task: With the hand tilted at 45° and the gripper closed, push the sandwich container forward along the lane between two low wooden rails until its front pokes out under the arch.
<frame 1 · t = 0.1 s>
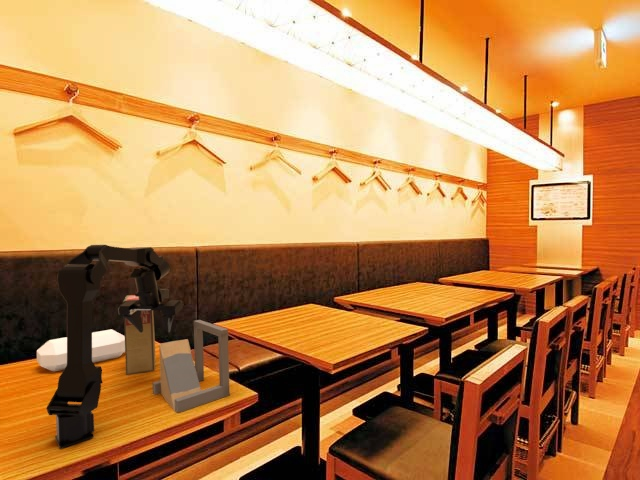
hand: (155, 332, 121), 15 cm above the table, tool pointing down, fingers open, 9 cm apart
grey frame stand: (190, 393, 110), on the table
sandwich container: (182, 399, 107), on the table, touching grey frame stand
food packaging: (141, 367, 133), on the table
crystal: (85, 362, 141), on the table
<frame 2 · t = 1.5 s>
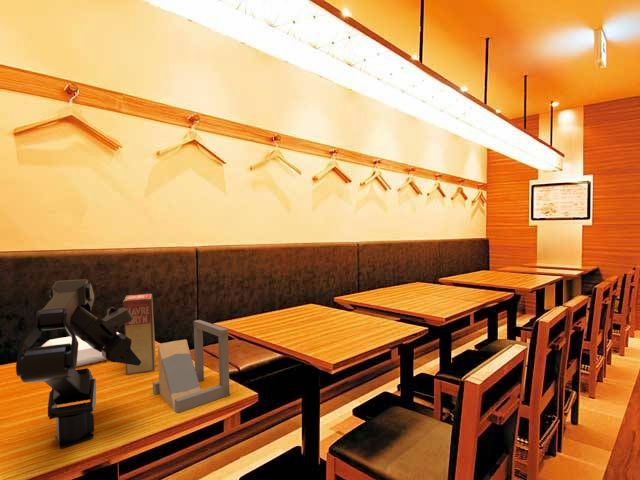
hand: (134, 360, 99), 14 cm above the table, tool tilted 45°, fingers open, 9 cm apart
nothing on the table moved.
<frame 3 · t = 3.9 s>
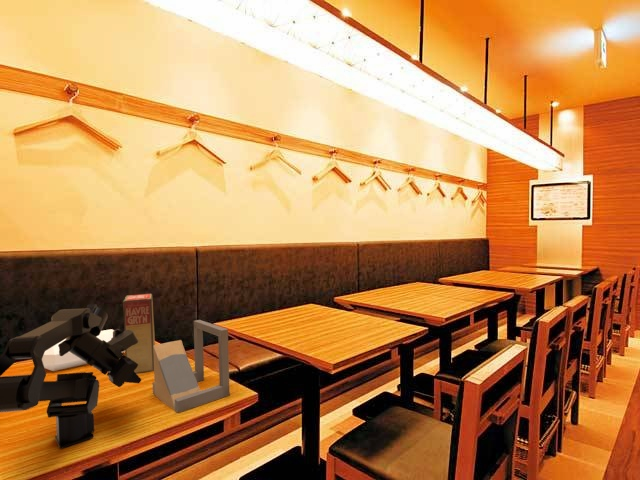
hand: (139, 381, 100), 8 cm above the table, tool tilted 45°, fingers closed
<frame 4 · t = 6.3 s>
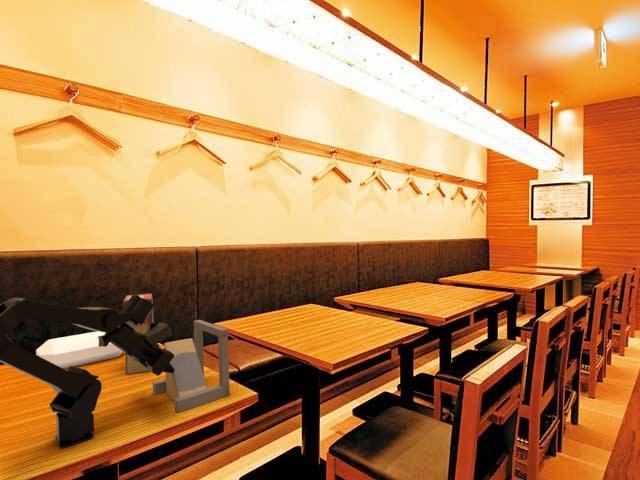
hand: (173, 371, 106), 8 cm above the table, tool tilted 45°, fingers closed
sandwich container: (188, 398, 108), on the table, touching gripper, grey frame stand
everything else where it was.
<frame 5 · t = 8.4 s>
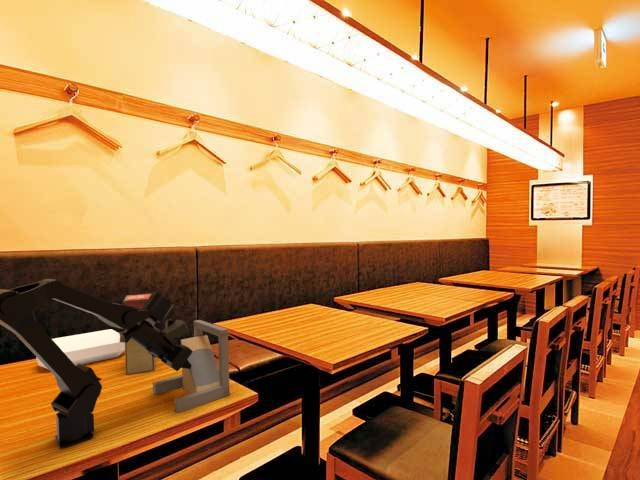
hand: (190, 367, 110), 8 cm above the table, tool tilted 45°, fingers closed
sandwich container: (204, 393, 112), on the table, touching gripper, grey frame stand
everything else where it was.
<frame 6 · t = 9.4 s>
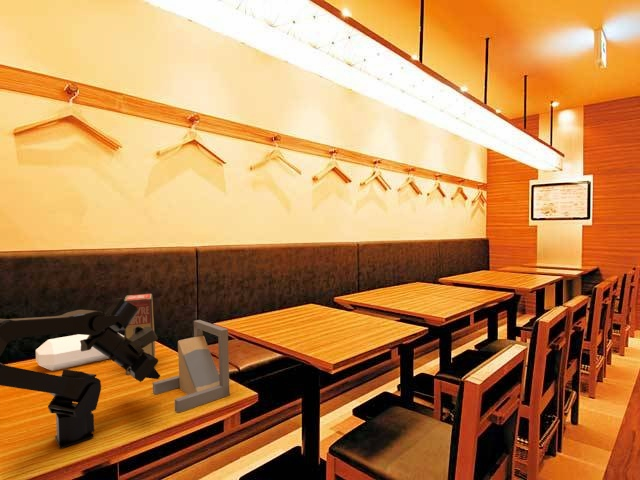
hand: (158, 377, 103), 7 cm above the table, tool tilted 45°, fingers closed
sandwich container: (203, 393, 111), on the table
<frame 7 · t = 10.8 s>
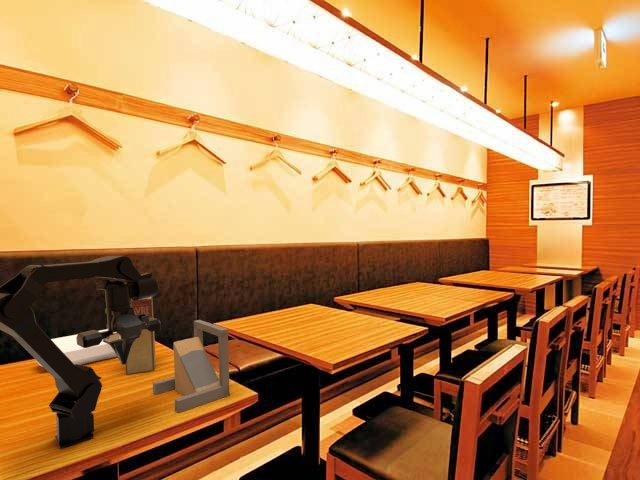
hand: (123, 364, 98), 13 cm above the table, tool pointing down, fingers closed
sandwich container: (200, 394, 110), on the table, touching grey frame stand
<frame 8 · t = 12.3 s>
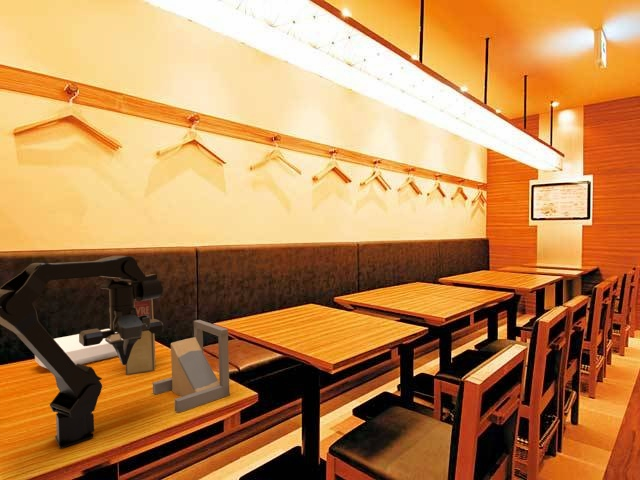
hand: (124, 364, 97), 13 cm above the table, tool pointing down, fingers closed
at the end: sandwich container 2.0 cm from the target spot, on the table; sandwich container moved 4.7 cm from its start; sandwich container tilted 0° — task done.
